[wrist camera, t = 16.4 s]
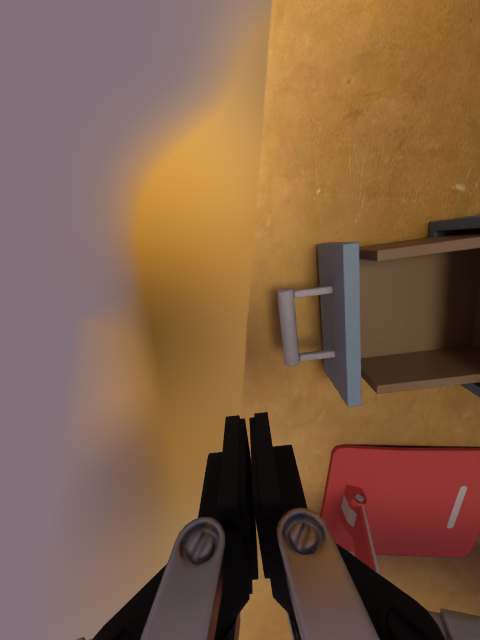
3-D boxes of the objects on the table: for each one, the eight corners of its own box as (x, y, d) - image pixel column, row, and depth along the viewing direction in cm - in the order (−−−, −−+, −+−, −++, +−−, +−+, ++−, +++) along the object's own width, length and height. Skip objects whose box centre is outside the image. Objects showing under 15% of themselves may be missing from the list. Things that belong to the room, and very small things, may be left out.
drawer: (281, 376, 30) (292, 413, 23) (268, 250, 26) (278, 253, 20) (469, 353, 29) (536, 386, 23) (482, 221, 26) (567, 213, 19)
